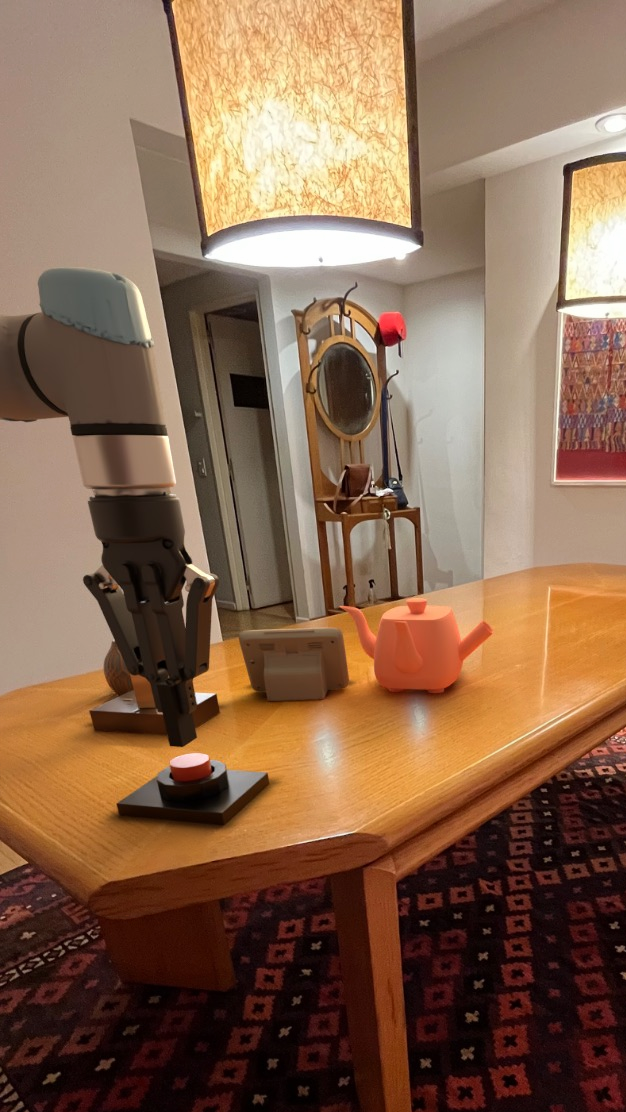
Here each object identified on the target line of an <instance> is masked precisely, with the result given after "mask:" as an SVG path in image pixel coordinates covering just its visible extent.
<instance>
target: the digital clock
mask: <svg viewBox="0 0 626 1112" xmlns="http://www.w3.org/2000/svg"><path fill="white" fill-rule="evenodd" d="M238 641H239V646H240V649H241V654H242V656H243V660H244V664H245V669H246V672H247V675H248V679H249V683H250V687H251V689H252V690H254V691H255V692H258V693H262V692H263V693H265V694H266V699H267V702H288V701H289V702H290V701H312V700H313V701H314V700H315V701H316V700H317V701H319V700H324V699H325V697H326V696H327V693H328V691H329V690H342V689H343V690H344V689H345V688H347V687H348V686H349V684H350V676H349V669H348V661H347V654H346V648H345V647H346V646H345V639H344V634H343V631H342V630H341V628H338V627H337V628H336V627H307V628H305V627H304V628H275V629H272V628H271V629H249V630H243V631H240V632H239V634H238Z"/></svg>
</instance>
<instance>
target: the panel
mask: <svg viewBox="0 0 626 1112" xmlns="http://www.w3.org/2000/svg"><path fill="white" fill-rule="evenodd" d="M195 696H196V702H197V708H196V710H195V711H193V712H192V714H193V719H194V724H195V729H197V728H198V727H200V726H201V725H202V724H204V723H206V722H208V721H209V720H211V719H212V718H214V717H215V716H218V714H220V713H221V709H220V705H219V698H218V694H217V693H213V692H195ZM88 712H89V715H90V718H91V722H92V726H93V730H94V731H95V732H97V731H98V732H114V733H128V734H129V733H130V734H147V735H149V734H150V735H162V736H163V735H164V736H167V731H166V726H165V722H164V717H163V712H158V711H157V709H156V708H138V705H137V701H136V697H135V693H134V690H132V691H130V692H128V693H126V694H123V695H119V696H117V697H115V698H113V699H111V700H108V701H106V702H104V703H102V704H100V705H98V706H96V707H94V708H92V709H89V710H88Z"/></svg>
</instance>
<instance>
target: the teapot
mask: <svg viewBox="0 0 626 1112" xmlns="http://www.w3.org/2000/svg"><path fill="white" fill-rule="evenodd" d="M405 602H406V605H399V606H395V607H393V608H391V609H389V610H387V611H385V612H384V613H383V614H382V616H381V618H380V621H379V625H378V629H377V632H376V636H375V634H373V633H372V631H371V629H370V627H369V625H368V622H367V619H366V617H365V615H364V613H363V612H362V611H361V609H359V608H357V607H354V606H348V605H339V608H341V610H344V611H345V612H346V613H348V615H350V617H351V618H352V620H353V622H354V625H355V628H356V632H357V635H358V640H359V643H360V646H361V648H362V650H363V651H364V653H365V654H366V655H367V656H368V657H369V658H370V659H372V660H373V672H374V676H375V679H376V680H377V682H378V684H379V686H380V687H382V688H386V689H388V691H389V692H391V693H400V692H404V691H405V690H427V692H428V693H429V694H441V693H444V692H445V689H446V688H448V687H450V686H451V685H452V684H454V683H455V681H457V679H458V678H459V675H461V671H462V669H463V665H464V661H465V660H466V659H467V658H468V657H469V656H470V655H471V654H473V652H474V651H476V650H477V649H478V648H479V647H480V646H481V645H482V644H483V643H485V642H486V641H487V640H488V639H489V638H490V637H491V636H492V635H493V634H494V633H495V631H494V629H493V627H491V626H490V624H489V623H487V622H486V621H485V620H481V621H480V622H479V623H478V624H477V625H476V626H475V627H474V628H473V629H472V630H471V631H470V632H469V633H468V634H467V635H466V636H465V637H464V639H462V638H461V634H460V630H459V627H458V623H457V620H456V616H455V614H454V611H453V609H452V608H451V607H450V606H447V605H427V604H428V599H427V598H424V597H412V598H408V599H406V601H405Z"/></svg>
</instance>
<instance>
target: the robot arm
mask: <svg viewBox="0 0 626 1112" xmlns="http://www.w3.org/2000/svg"><path fill="white" fill-rule="evenodd" d="M37 287H38V296H39V303H38V305H39V307H40V310H41V311H40V312H36V313H29V314H20V315H4V314H0V420H1V421H6V422H24V423H32V422H37V421H38V420H47V419H48V420H49V419H57V418H68V421H69V426H70V433H71V436H72V440H73V445H74V449H75V454H76V458H77V463H78V468H79V472H80V476H81V482H82V485H83V487H85V489H88V490H92V494H93V496H89V497H88V498H89V500H87V506H88V509H89V513H90V518H91V522H92V526H93V531H94V535H95V537H96V539H97V540H99V541H100V542H101V544H102V553H101V558H100V559H101V560H100V561H101V564H102V565H101V566H100V567H99V568H98V569H97V570H96V571H94V573H90V574H89V573H88V574H85V575H84V576H83V577H82V583H83V584H84V586H85V587H86V588H87V590H88V591H89V593H90V594H91V595H92V596H93V597H94V599H95V600H96V601H97V603H98V605H99V608H100V611H101V613H102V615H103V617H104V619H105V622H106V624H107V627H108V628H109V631H110V633H111V635H112V638H113V640H115V642H116V644H117V646H118V649H119V651H120V653H121V655H122V658H123V660H124V662H125V665H126V667H127V669H128V671H129V673H130V674H131V675H134V676H136V675H140V676H142V677H144V678H146V679H147V680H148V681H149V682H150V685H151V689H152V694H153V697H154V703H155V707H156V709H157V711H158V712H163V717H164V722H165V726H166V731H167V735H166V736H167V740H168V745H169V747H176V748H184V747H186V746H187V745H189V744H190V743H192V742H193V741H195V740H196V739H197V738H198V735H197V728H195V724H194V719H193V714H192V712H193V711H195V710H196V708H197V702H196V696H195V693H196V692H195V691H196V690H195V687H194V679H196V678H197V677H199V676H201V675H203V674H205V673H207V672H208V671H209V669H210V656H211V655H210V654H211V633H212V615H213V614H212V611H213V598H214V596H215V594H216V591H217V589H218V587H219V584H220V579H219V576H217V575H216V574H214V573H208V574H207V573H206V572H204V571H203V570H201V569H200V568H198V567H197V566H195V565H194V564H193V559H192V556H191V555H190V553H189V551H188V549H187V547H186V545H185V536H186V529H185V523H184V517H183V512H182V506H181V501H180V497H177V494H175V493H171V488H174V487H175V486H176V484H177V479H176V473H175V468H174V464H173V457H172V451H171V446H170V445H171V444H170V440H169V436H168V435H169V434H168V428H167V424H166V418H165V417H166V416H165V412H164V406H163V400H162V394H161V388H160V382H159V377H158V371H157V370H158V369H157V365H156V364H157V363H156V357H155V349H154V347H155V341H154V338H153V337H152V334H151V329H150V325H149V322H148V317H147V312H146V309H145V304H144V301H143V296H142V294H141V291H140V289H139V288H138V286H137V284H135V283H134V282H133V281H132V280H130V279H129V278H127V277H125V276H124V275H122V274H120V273H119V274H118V273H115V272H111V271H107V270H103V269H98V268H92V267H91V268H90V267H78V266H77V267H74V266H62V267H53V268H48V269H46V270H44V271H43V272H42V273H41V275H39V276H38V280H37ZM185 584H186V585H185ZM183 589H185V591H186V592H188V593H187V596H186V603H185V601H184V598H183V591H182V590H183ZM184 606H185V618H184V612H183V608H184Z"/></svg>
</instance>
